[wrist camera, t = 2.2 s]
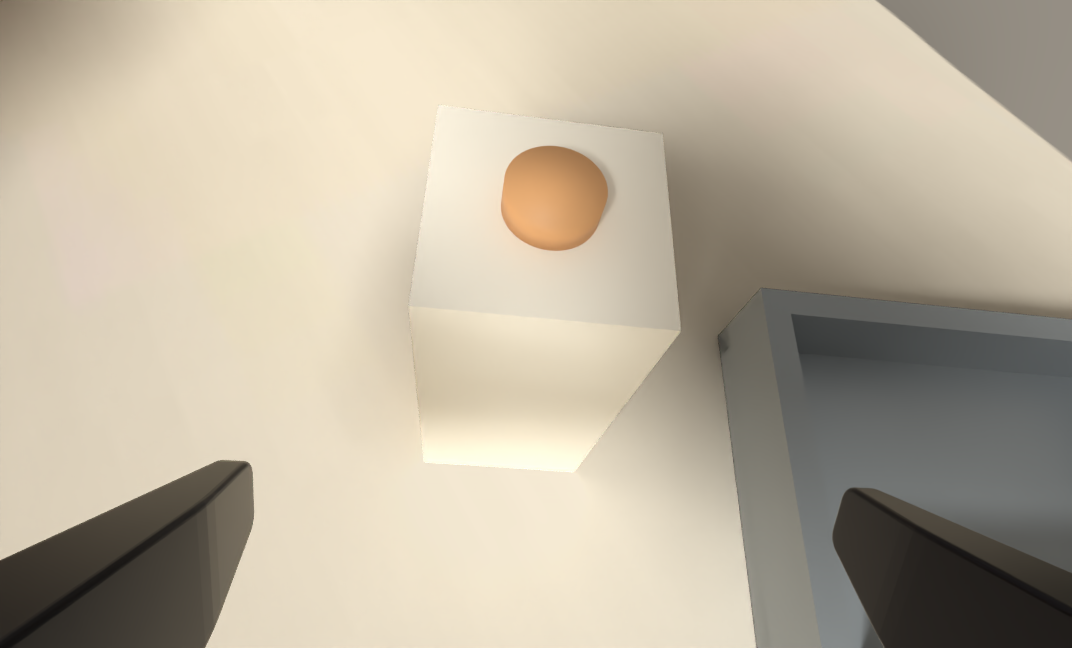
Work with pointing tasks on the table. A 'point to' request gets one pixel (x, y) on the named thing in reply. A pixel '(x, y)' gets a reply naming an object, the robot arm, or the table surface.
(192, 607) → the robot arm
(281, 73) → the table surface
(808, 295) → the tote
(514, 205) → the juice carton
